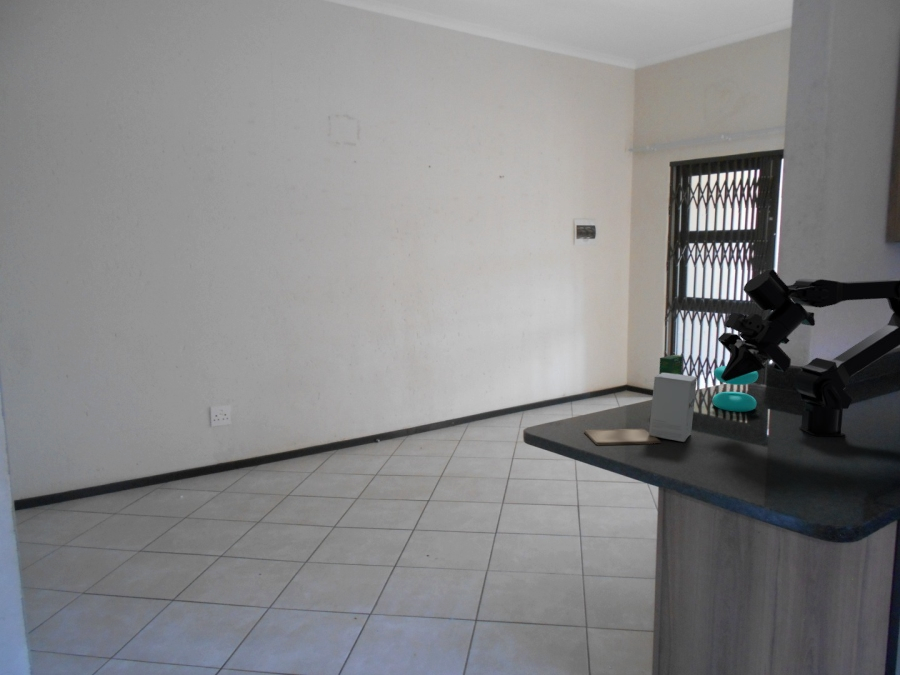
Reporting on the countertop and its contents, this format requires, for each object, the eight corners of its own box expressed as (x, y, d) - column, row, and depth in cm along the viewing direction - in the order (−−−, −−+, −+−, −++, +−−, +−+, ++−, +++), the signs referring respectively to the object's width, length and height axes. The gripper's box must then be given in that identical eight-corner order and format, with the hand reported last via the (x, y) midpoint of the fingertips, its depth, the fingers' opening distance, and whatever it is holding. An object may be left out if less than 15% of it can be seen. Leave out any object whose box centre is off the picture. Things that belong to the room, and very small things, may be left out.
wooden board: (643, 431, 131) (643, 428, 131) (660, 443, 123) (660, 440, 122) (584, 432, 131) (584, 430, 131) (597, 445, 122) (597, 442, 122)
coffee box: (670, 404, 156) (672, 353, 154) (681, 405, 154) (683, 354, 152) (656, 409, 150) (658, 357, 148) (667, 411, 148) (670, 358, 146)
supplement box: (685, 442, 122) (691, 381, 121) (647, 435, 126) (653, 375, 124) (692, 434, 128) (698, 376, 127) (656, 428, 132) (661, 371, 131)
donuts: (720, 371, 146) (709, 364, 156) (718, 412, 147) (707, 402, 157) (765, 372, 145) (750, 365, 154) (762, 413, 146) (748, 403, 156)
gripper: (728, 296, 134) (678, 346, 135) (779, 302, 115) (720, 360, 116) (761, 331, 135) (710, 380, 136) (816, 342, 117) (757, 399, 118)
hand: (723, 379), depth 126 cm, fingers closed
